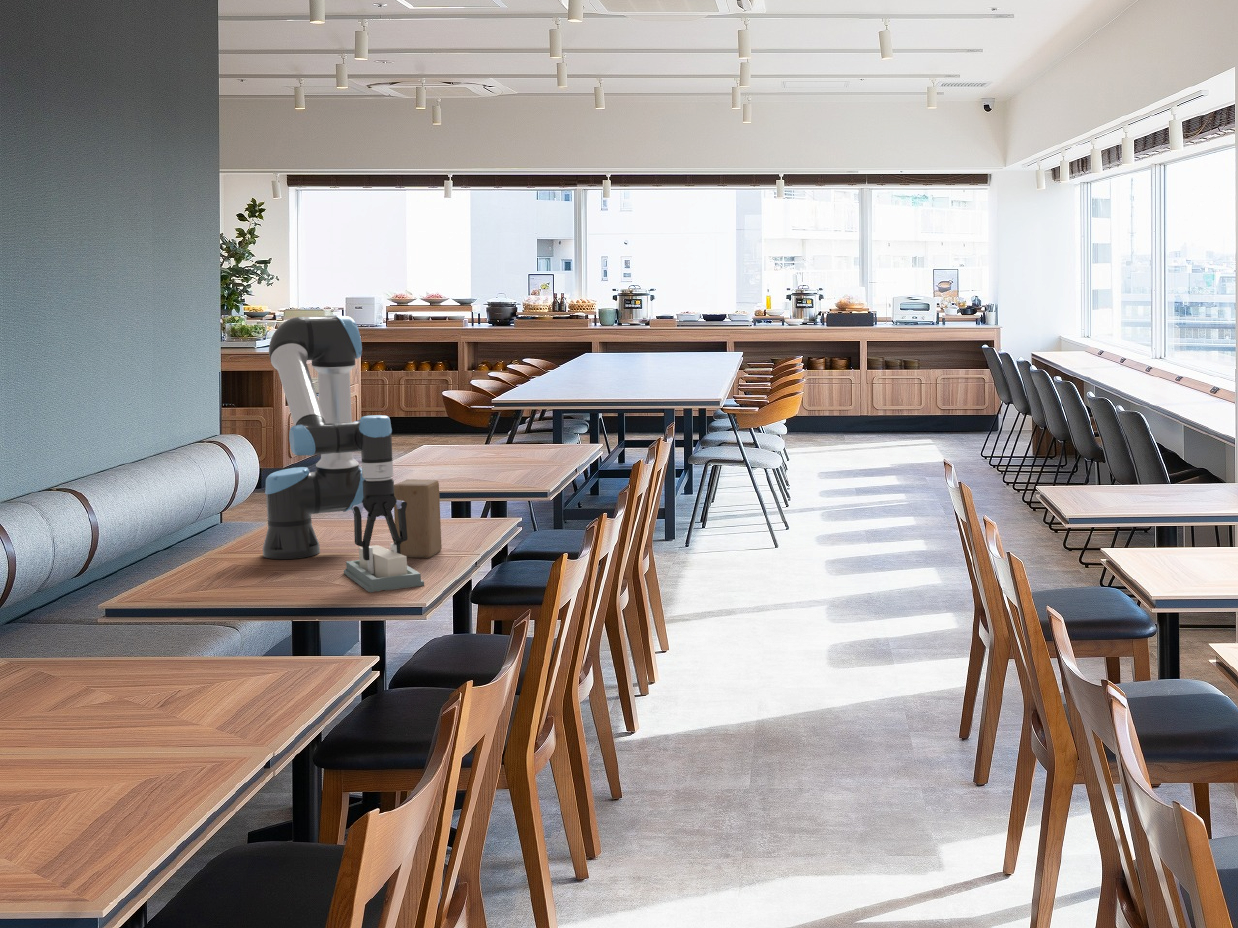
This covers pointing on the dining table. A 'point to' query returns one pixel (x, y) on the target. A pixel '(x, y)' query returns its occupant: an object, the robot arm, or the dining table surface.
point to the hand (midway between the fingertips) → (382, 571)
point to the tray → (381, 583)
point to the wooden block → (420, 517)
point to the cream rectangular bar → (385, 562)
